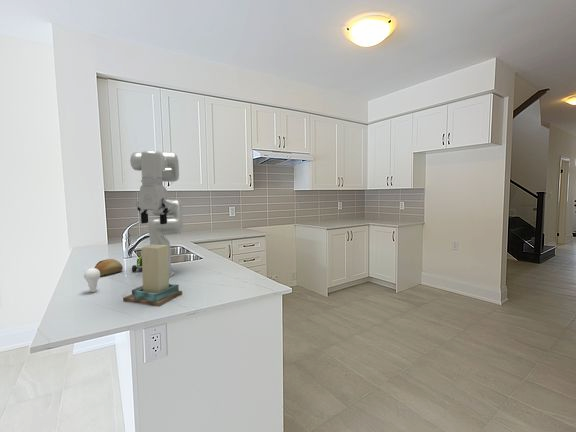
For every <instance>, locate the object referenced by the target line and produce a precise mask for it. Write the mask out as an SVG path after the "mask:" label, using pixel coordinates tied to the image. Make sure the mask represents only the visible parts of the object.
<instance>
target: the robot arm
mask: <svg viewBox="0 0 576 432" xmlns="http://www.w3.org/2000/svg"><path fill="white" fill-rule="evenodd" d="M130 155H131V156H130V160H129V163H130V166H131V168H132V170H134V171H138V172H139V171H141V180H140V182H141V185H140V186H139V198H138V199H139V200H138V201H137V202H135V206H136V208H137V211H138V212H139V214H140V221H141V223H140V224H147V230H148V235H149V245H152V244H155V245H167V246H168V271H169V278H170V277H173V276H175V272H174V271H173V270H172V265H171V243H170V240H169V239H168V238H167V237H166V236H168V235H181V234H182V233H183V231H184V211H183V210H184V209H183V203H182V201H181V199H180V198H178V197H175V198H173V197H172V198H171V197H169V196H168V189H167V188H166V187H165V186H164V185H163V182H171V183H172V182H177V181H178V180H179V179H180V165H179V164H180V163H179V158H178V155H177V153H175V152H173V151H159V150H157V151H156V150H155V151H153V150H145V151H142V152H141V151H139V152H137V151H136V152H132V153H131V154H130ZM149 211H151V212H150V213H151V214H152V215H153V216H155V217H152V218H150V219H149V213H148V212H149Z"/></svg>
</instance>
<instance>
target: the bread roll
mask: <svg viewBox="0 0 576 432" xmlns="http://www.w3.org/2000/svg"><path fill="white" fill-rule="evenodd" d="M94 268H96V269H98V270H99V271H100V277H101V276H106V275H110V274H116V273H120V272H122V271H123V269H124V267H123V264H122V263H121V262H120V261H118V260H117V259H114V258H113V259H111V258H110V259H109V258H108V259H107V258H106V259H103V260H100V261H98V262H97V263H96V264H95V266H94Z"/></svg>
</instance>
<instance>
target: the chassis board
mask: <svg viewBox="0 0 576 432" xmlns="http://www.w3.org/2000/svg"><path fill="white" fill-rule="evenodd" d="M179 289H180V288H179V284H176V283H169V288H167V289H165V290H163V291H160V292H158V293H151V292H144V291H143V285H140V286H139V287H136V288H134V289H131V294H129V295H126V296H124V297H122V299H123V300H122V301H123V302H125V303H126V302H127V303H133V304H139V305H146V306H147V305H148V306H154V307H161V306H163V305H164V304H166V303H168V302H170V301H171V300H174V299H176V298H178V297H180V296H182V295H183V293H182V292H183V291H182V290H179Z"/></svg>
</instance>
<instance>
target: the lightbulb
mask: <svg viewBox="0 0 576 432" xmlns="http://www.w3.org/2000/svg"><path fill="white" fill-rule="evenodd" d="M100 277H101V276H100V271H99V270H98V269H96V268H95V267H90V268H88V269H86V270H85V271H84V273H83V278H84V279H85V281H86V282H87V285H88V287H89V292H91V293H95V292H96V291H97V288H98V287H97V286H98V281H99V279H100Z"/></svg>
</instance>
